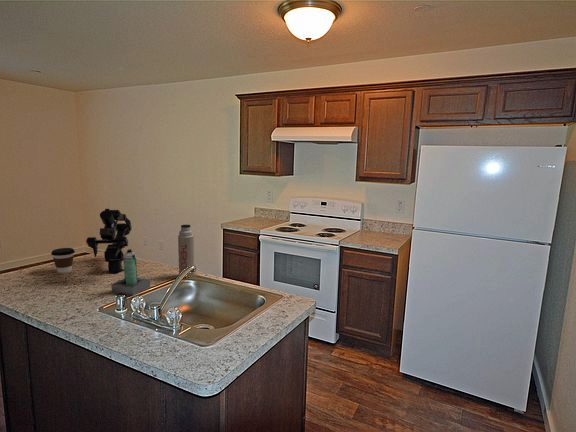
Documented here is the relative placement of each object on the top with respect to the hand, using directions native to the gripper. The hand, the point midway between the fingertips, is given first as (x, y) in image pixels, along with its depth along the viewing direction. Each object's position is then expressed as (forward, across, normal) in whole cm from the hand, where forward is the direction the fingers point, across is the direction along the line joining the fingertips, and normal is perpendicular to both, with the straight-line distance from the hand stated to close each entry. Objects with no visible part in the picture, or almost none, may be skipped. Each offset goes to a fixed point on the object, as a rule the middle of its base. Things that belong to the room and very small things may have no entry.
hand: (105, 256), depth 182 cm
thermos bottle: (+7, +39, +13) cm, 41 cm away
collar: (+18, +14, +1) cm, 23 cm away
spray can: (+18, +14, +1) cm, 23 cm away
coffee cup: (-5, -27, +25) cm, 37 cm away
